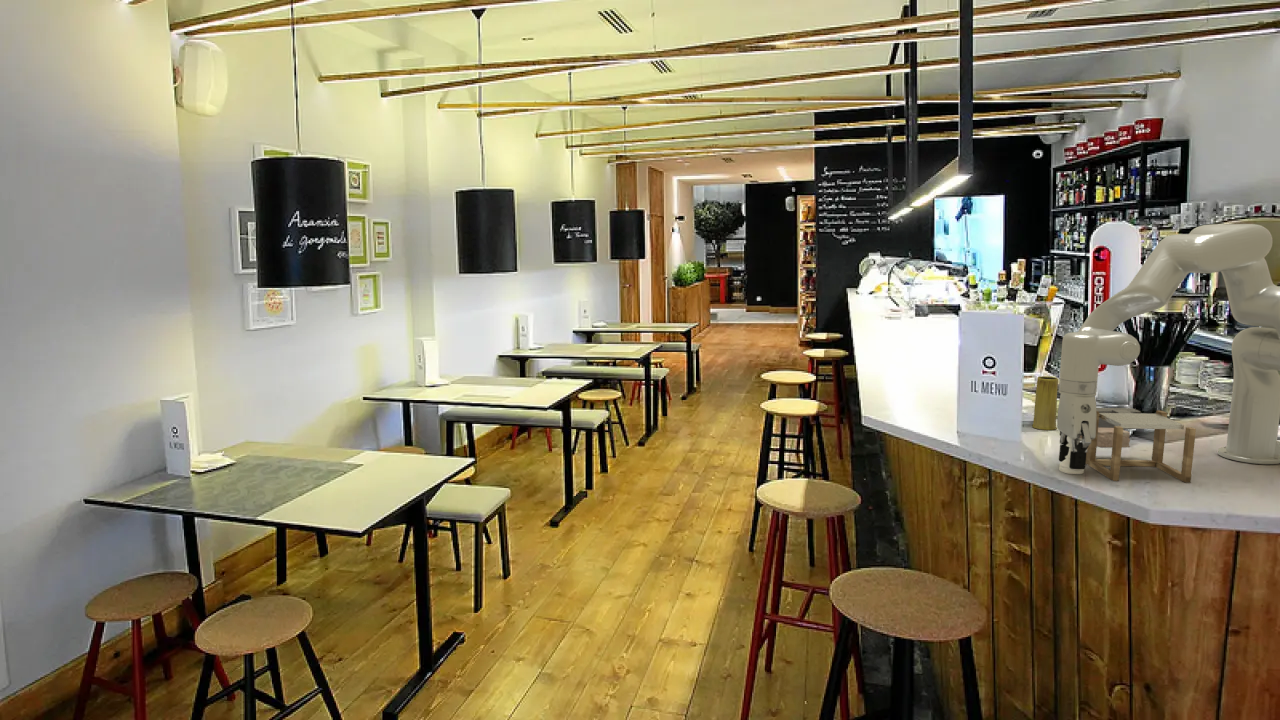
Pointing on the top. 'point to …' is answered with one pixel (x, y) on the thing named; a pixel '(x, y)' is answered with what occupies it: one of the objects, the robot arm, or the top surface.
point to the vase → (1045, 403)
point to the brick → (1110, 437)
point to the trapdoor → (1134, 419)
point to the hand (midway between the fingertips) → (1071, 464)
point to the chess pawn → (1066, 463)
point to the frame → (1155, 462)
